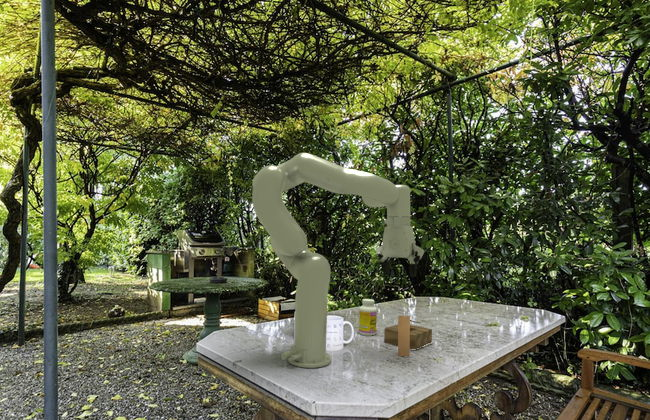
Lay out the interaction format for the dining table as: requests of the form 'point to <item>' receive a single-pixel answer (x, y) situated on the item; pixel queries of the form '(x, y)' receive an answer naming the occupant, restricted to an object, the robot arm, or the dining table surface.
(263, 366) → the dining table surface
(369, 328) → the supplement bottle
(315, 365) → the robot arm
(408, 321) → the peg
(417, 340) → the socket block
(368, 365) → the dining table surface
